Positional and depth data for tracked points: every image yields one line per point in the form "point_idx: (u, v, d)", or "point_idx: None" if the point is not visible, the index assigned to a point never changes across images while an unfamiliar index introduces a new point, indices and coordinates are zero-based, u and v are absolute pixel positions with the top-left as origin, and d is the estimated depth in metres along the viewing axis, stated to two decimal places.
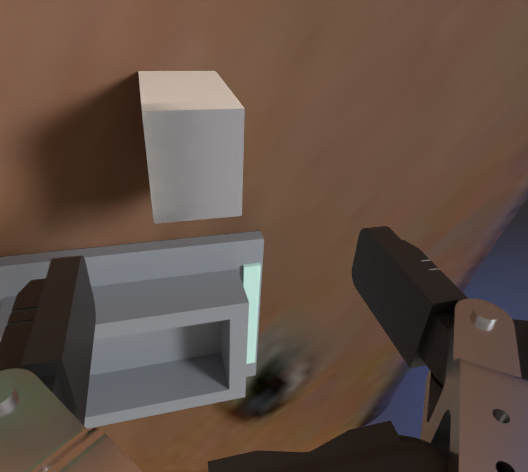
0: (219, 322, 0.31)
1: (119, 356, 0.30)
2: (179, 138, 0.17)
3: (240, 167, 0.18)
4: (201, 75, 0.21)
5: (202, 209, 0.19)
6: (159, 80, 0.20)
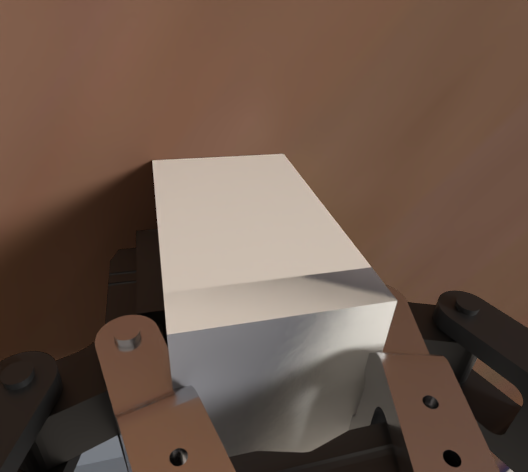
0: None
1: None
2: (249, 368, 0.07)
3: None
4: (264, 168, 0.12)
5: None
6: (192, 190, 0.11)
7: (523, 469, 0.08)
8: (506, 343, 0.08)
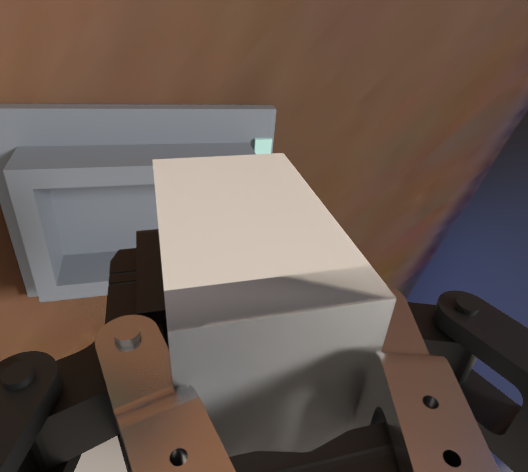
0: None
1: (127, 233, 0.30)
2: (249, 366, 0.07)
3: None
4: (264, 167, 0.12)
5: None
6: (193, 188, 0.11)
7: (523, 469, 0.08)
8: (506, 343, 0.08)
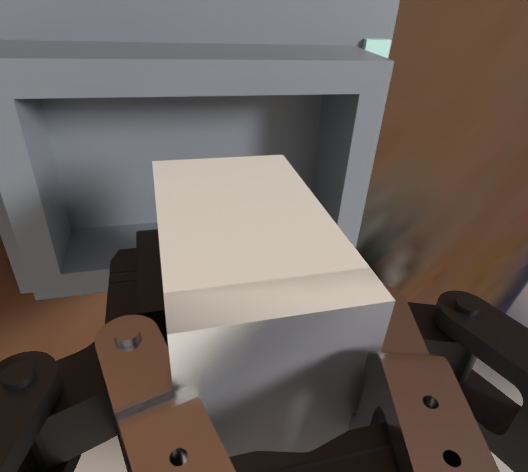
0: (314, 150, 0.21)
1: None
2: (249, 368, 0.07)
3: None
4: (263, 169, 0.12)
5: None
6: (192, 190, 0.11)
7: (523, 469, 0.08)
8: (506, 343, 0.08)
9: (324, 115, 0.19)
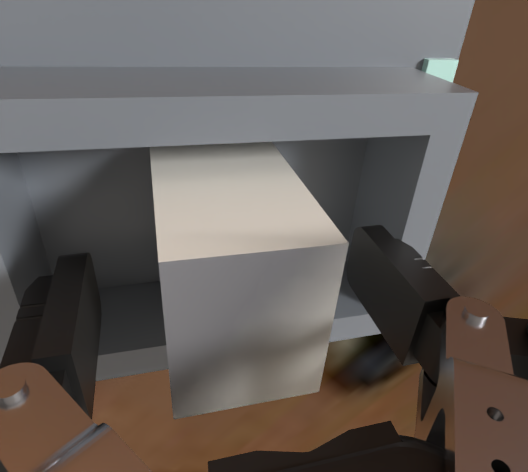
0: (355, 193, 0.17)
1: None
2: (226, 298, 0.09)
3: (327, 329, 0.10)
4: (247, 146, 0.14)
5: (256, 391, 0.11)
6: (183, 161, 0.12)
7: None
8: None
9: (371, 152, 0.16)
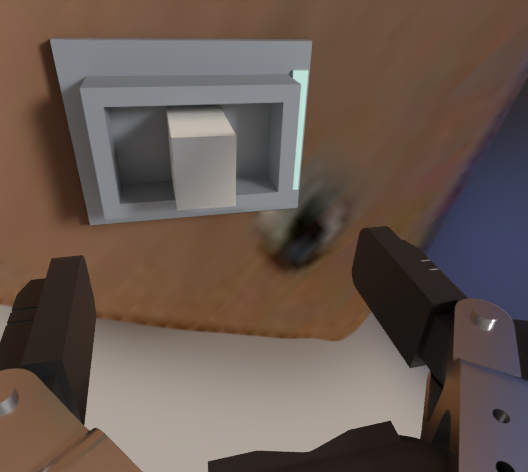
0: (268, 136, 0.34)
1: None
2: (194, 154, 0.26)
3: (234, 173, 0.27)
4: (209, 109, 0.31)
5: (209, 201, 0.28)
6: (181, 114, 0.29)
7: None
8: None
9: (271, 114, 0.33)
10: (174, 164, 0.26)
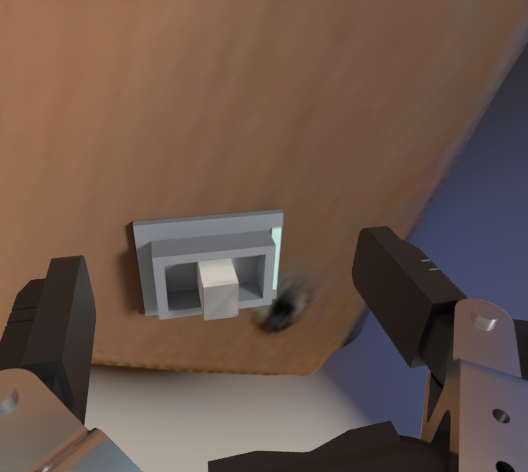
0: (257, 262, 0.55)
1: None
2: (215, 293, 0.47)
3: (237, 300, 0.48)
4: None
5: (222, 314, 0.49)
6: None
7: None
8: None
9: None
10: (204, 299, 0.47)
